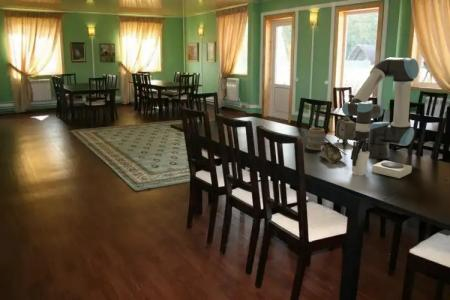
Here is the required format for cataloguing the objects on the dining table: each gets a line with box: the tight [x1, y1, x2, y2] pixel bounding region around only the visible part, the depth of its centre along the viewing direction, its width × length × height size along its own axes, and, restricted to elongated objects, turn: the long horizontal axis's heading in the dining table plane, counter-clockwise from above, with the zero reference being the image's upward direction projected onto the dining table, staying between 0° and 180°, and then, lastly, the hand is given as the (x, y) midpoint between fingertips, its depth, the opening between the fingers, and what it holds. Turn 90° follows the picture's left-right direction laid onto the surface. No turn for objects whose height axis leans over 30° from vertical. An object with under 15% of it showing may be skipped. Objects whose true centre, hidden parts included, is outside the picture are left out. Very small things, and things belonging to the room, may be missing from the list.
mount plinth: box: [371, 160, 413, 179], centre depth 225 cm, size 16×16×4 cm
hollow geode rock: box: [320, 137, 348, 164], centre depth 253 cm, size 28×13×15 cm
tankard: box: [305, 124, 326, 151], centre depth 285 cm, size 20×13×15 cm, turn 179°
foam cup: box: [350, 150, 370, 176], centre depth 220 cm, size 10×9×13 cm
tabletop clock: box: [335, 114, 356, 146], centre depth 297 cm, size 14×9×25 cm, turn 14°
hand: (358, 169), depth 221 cm, fingers closed on foam cup, 9 cm apart
